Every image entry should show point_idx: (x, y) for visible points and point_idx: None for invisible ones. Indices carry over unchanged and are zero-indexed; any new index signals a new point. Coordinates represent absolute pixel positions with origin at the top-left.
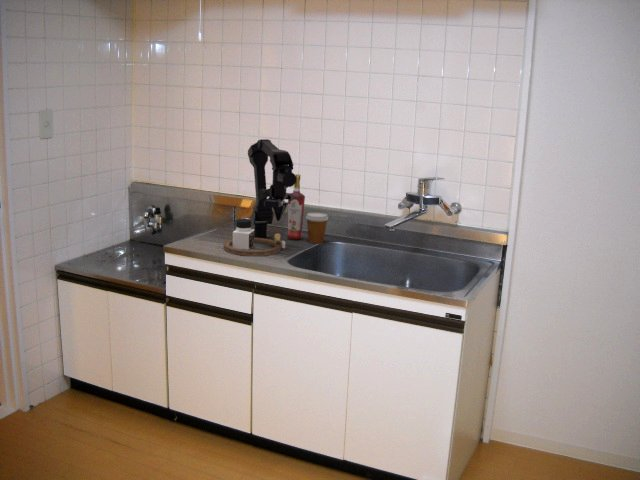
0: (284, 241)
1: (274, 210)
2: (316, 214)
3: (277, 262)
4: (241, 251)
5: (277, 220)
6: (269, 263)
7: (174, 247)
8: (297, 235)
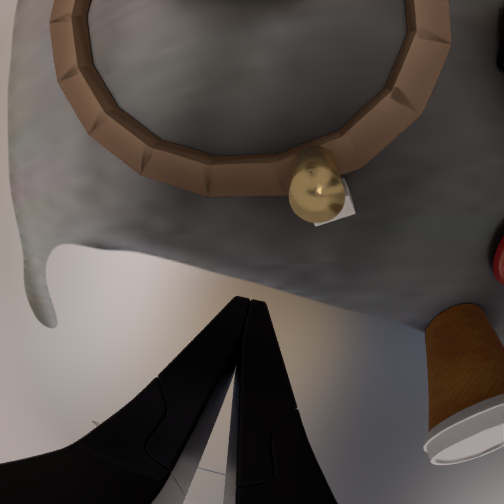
0: (335, 219)
1: (113, 418)
2: (501, 434)
3: (54, 210)
4: (50, 20)
5: (232, 303)
6: (30, 185)
7: None
8: (501, 273)
